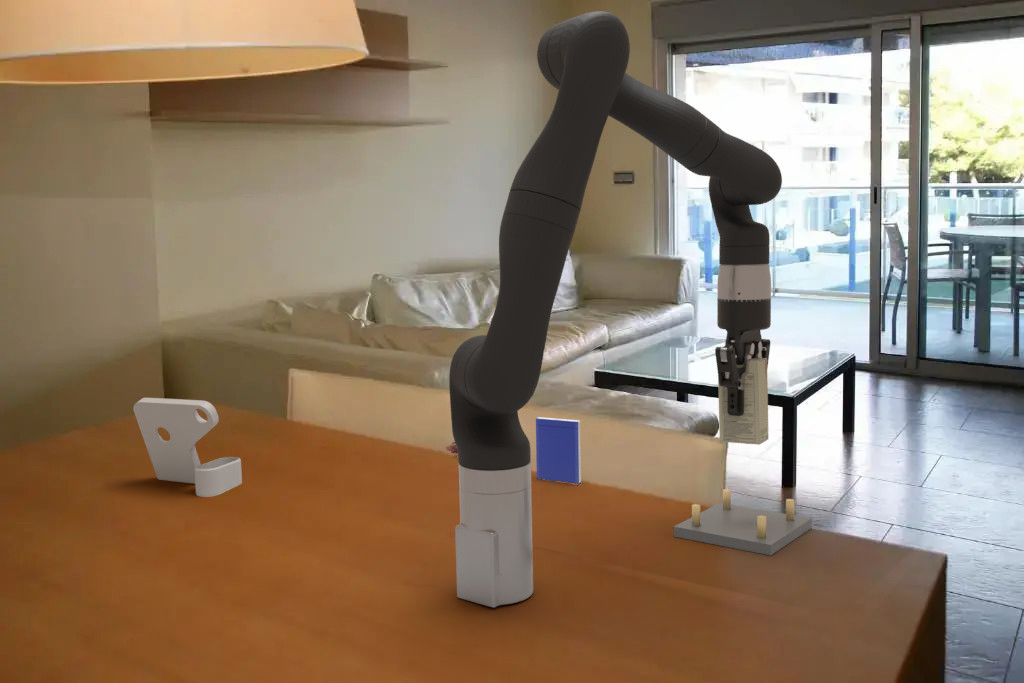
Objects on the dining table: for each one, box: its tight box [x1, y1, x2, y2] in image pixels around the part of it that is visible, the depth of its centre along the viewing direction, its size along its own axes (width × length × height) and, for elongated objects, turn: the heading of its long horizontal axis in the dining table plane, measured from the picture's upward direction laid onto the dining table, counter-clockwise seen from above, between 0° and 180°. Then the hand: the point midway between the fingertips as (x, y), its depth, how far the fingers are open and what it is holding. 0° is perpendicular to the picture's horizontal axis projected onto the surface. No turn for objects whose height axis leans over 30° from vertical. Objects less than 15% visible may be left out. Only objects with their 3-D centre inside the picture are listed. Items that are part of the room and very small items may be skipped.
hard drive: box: [535, 416, 582, 484], centre depth 170 cm, size 2×8×12 cm, turn 61°
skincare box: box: [717, 358, 769, 445], centre depth 141 cm, size 6×4×12 cm
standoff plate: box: [673, 488, 813, 556], centre depth 143 cm, size 15×15×4 cm
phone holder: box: [132, 397, 243, 498], centre depth 170 cm, size 17×10×18 cm, turn 69°
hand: (743, 411), depth 142 cm, fingers closed on skincare box, 4 cm apart
